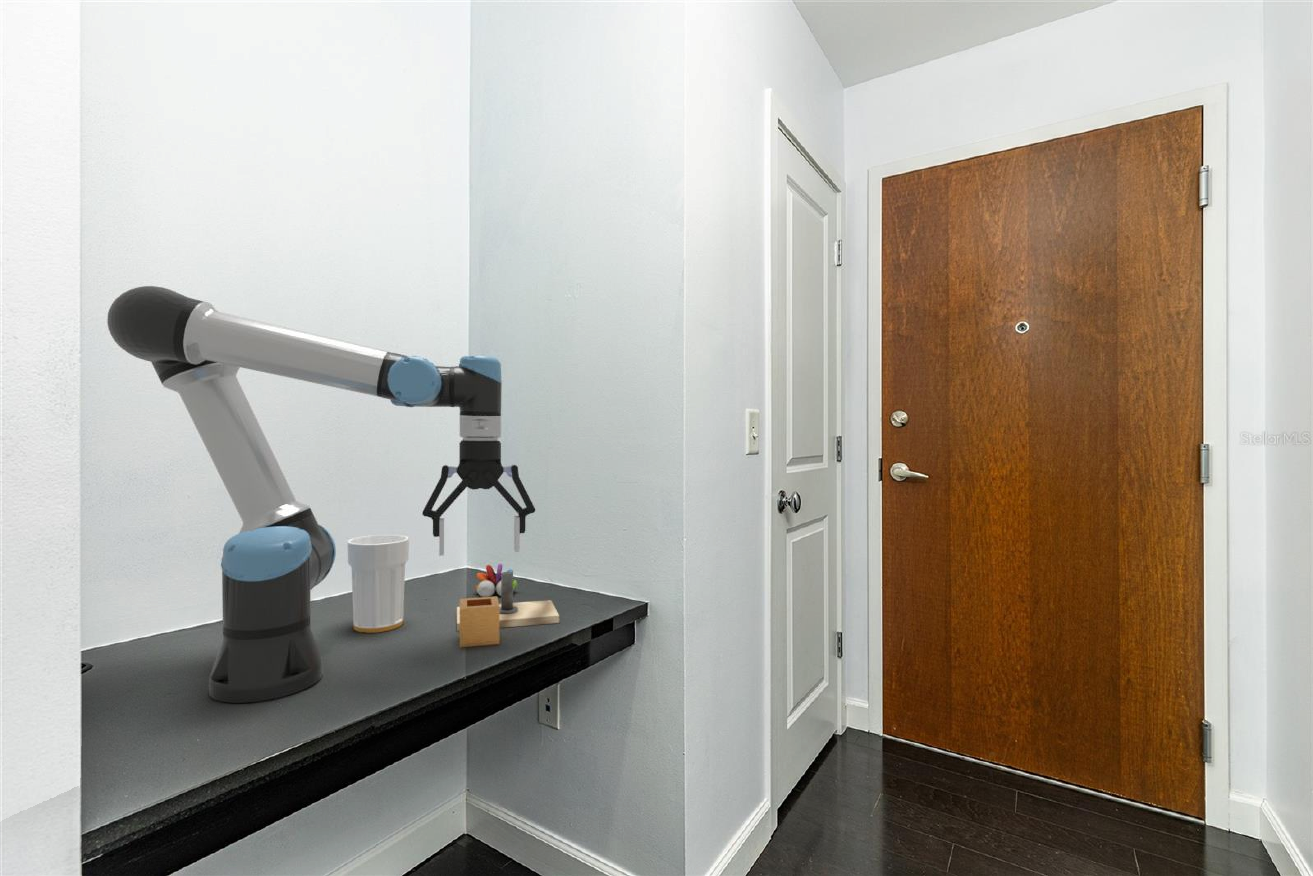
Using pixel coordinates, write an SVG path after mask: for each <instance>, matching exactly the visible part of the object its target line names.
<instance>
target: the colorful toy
mask: <svg viewBox="0 0 1313 876" xmlns="http://www.w3.org/2000/svg"><path fill="white" fill-rule="evenodd" d="M503 567H504V565H503V564H502V563H499V564H498V565H497V571H494V570H495V569H493V566H491V565H490V564H488V565H486V566H485V569H486V573H484V572H478V573H477V574H476V579H478V580H479V583H477V584H476V585H475V587H474V588H475V591H476V592H477V593H478V595H479V596H480V597H493V595H494V594H495V592H496V593H497V594H498V595H499V596H500V597H501V573H503V572H502V571H503ZM506 572H513V573H514V570H513V569H512V568H510V569H508V570H506ZM517 586H518V582H517V580H515V579H513V590H514V589H515V588H517Z"/></svg>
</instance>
